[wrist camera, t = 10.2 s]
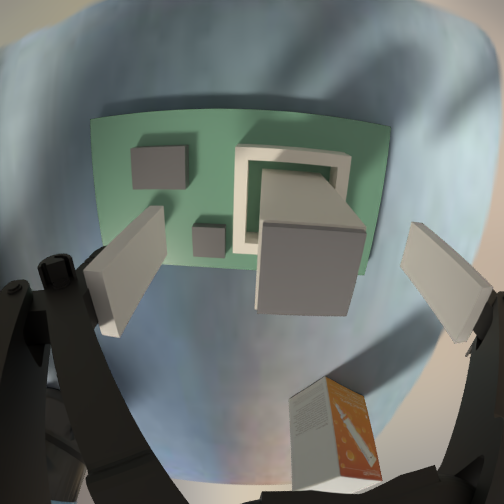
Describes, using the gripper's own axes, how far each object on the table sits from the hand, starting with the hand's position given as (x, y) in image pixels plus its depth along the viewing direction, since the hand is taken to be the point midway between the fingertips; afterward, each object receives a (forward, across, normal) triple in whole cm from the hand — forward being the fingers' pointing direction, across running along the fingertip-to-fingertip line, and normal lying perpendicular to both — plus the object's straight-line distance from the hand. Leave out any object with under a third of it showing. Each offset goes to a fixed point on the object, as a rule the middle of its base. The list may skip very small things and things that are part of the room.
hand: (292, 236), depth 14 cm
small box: (+8, +8, -25) cm, 27 cm away
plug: (+6, 0, 0) cm, 7 cm away
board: (+8, -4, 0) cm, 9 cm away
